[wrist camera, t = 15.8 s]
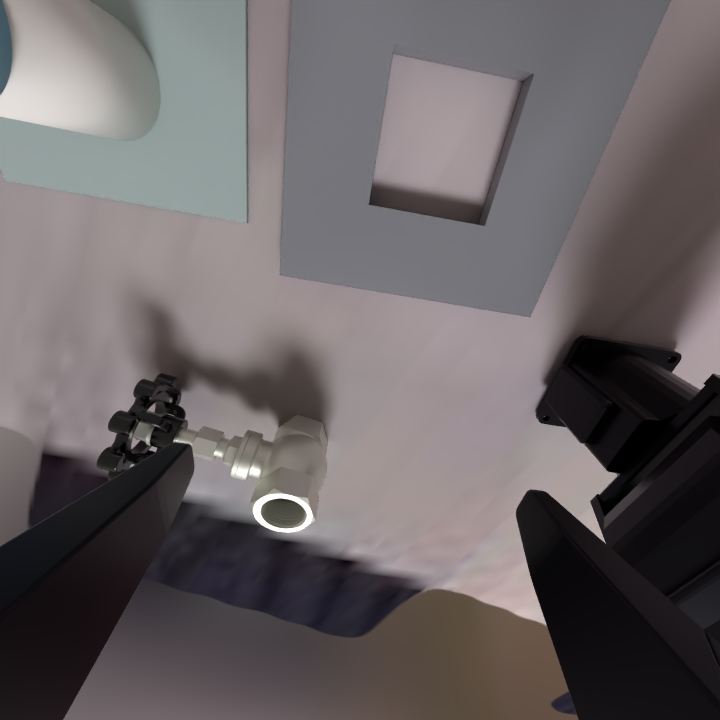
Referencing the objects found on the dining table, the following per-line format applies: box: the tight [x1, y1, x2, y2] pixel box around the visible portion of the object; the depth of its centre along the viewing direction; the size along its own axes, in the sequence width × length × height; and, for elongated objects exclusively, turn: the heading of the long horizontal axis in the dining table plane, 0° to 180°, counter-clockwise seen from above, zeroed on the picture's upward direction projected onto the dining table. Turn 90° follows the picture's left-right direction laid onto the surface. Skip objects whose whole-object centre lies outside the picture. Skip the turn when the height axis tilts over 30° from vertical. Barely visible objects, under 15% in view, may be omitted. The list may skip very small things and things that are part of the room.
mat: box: [0, 0, 248, 223], centre depth 14 cm, size 12×10×1 cm
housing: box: [280, 0, 671, 317], centre depth 12 cm, size 14×19×4 cm
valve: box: [97, 373, 328, 532], centre depth 20 cm, size 7×7×12 cm
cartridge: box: [0, 0, 161, 141], centre depth 10 cm, size 5×5×8 cm
